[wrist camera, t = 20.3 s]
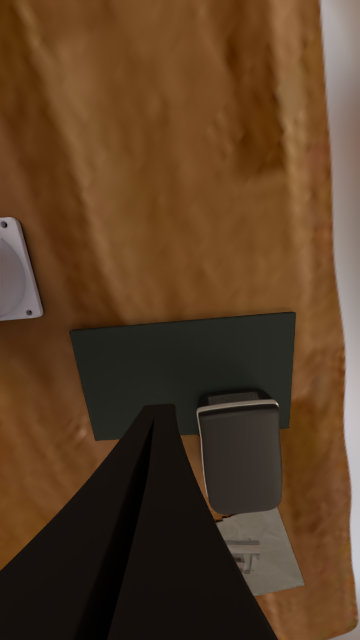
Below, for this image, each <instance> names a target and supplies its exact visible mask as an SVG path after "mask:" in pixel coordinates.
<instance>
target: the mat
mask: <svg viewBox="0 0 360 640" xmlns="http://www.w3.org/2000/svg"><path fill="white" fill-rule="evenodd" d="M295 319H296V313H295V312H283V313H271V314H259V315H247V316H235V317H223V318H211V319H198V320H186V321H174V322H162V323H150V324H138V325H126V326H114V327H102V328H90V329H78V330H71V331H69V333H70V337H71V341H72V345H73V349H74V354H75V358H76V362H77V366H78V370H79V375H80V379H81V383H82V387H83V391H84V396H85V400H86V404H87V408H88V412H89V417H90V421H91V425H92V429H93V433H94V438H95V441H100V440H115V439H121V437H122V436H123V435H124V433H125V432H126V431H127V429H128V428H129V426H130V425H131V424H132V422H133V421H134V419H135V418H136V416H137V415H138V413H139V412H140V410H141V409H142V408H143V406H144V405H156V404H172V403H173V404H174V405H175V406H176V414H177V424H178V429H179V432H180V435H191V434H200V430H199V424H198V418H197V403H198V400H199V398H200V397H201V396H202V395H204V394H207V393H211V392H218V391H226V390H235V389H245V388H258V389H261V390H263V391H265V392H266V393H268V394H269V395H270V396H271V397H272V399H273V400H275V401H276V402H277V404H278V407H279V409H280V429H283V428H289V419H290V402H291V385H292V369H293V352H294V336H295Z"/></svg>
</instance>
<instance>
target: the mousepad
mask: <svg viewBox="0 0 360 640" xmlns="http://www.w3.org/2000/svg"><path fill="white" fill-rule="evenodd" d="M230 518H231V519H230ZM230 518H222V519H223V521H221V522H218V523H216V524H217V527H218V529H219V531H220V533H221V535H222V537H223V539H224V540H225V542H226V544H227V546H228V548H229V550H230V552H231V554H232V556H233V558H234V560H235V562H236V563H237V565H238V567H239V569H240V571H241V573H242V575H243V577H244V579H245V581H246V582H247V584H248V586H249V588H250V590H251V592H252V594H253V596H257V595H262V594H266V593H271V592H275V591H280V590H285V589H289V588H294V587H298V586H303V585H305V583H304V581H303V578H302V575H301V572H300V569H299V567H298V564H297V561H296V558H295V556H294V553H293V550H292V547H291V544H290V542H289V539H288V536H287V533H286V530H285V528H284V525H283V522H282V519H281V517H280V514H279V511H278V508H277V507H276V508H274V509H272V510H269V511H263V512H253V513H242V514H238V515H234V516H230Z"/></svg>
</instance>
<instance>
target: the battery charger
mask: <svg viewBox="0 0 360 640" xmlns="http://www.w3.org/2000/svg"><path fill="white" fill-rule="evenodd" d="M197 418H198V424H199V430H200V438H201V453H202V465H203V474H204V482H205V488H206V493H207V497H208V500H209V503H210V506H211V507H212V509H213V510H214V511H215V512H217V513H220V514H242V513H253V512H263V511H269V510H272V509H274V508H276V507H277V506H278V505H279V503H280V501H281V497H282V460H281V448H280V409H279V407H278V404H277V402H276V401H275V400H273V399H272V397H271V396H270V395H269V394H268V393H266V392H265V391H263V390H261V389H258V388H245V389H235V390H226V391H218V392H211V393H207V394H204V395H202V396H201V397H200V398H199V400H198V403H197Z"/></svg>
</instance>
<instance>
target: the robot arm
mask: <svg viewBox="0 0 360 640" xmlns="http://www.w3.org/2000/svg"><path fill="white" fill-rule="evenodd" d="M6 223H7V228H6V226H5V224H6ZM30 310H31V311H32V314H31V313H30ZM42 315H43V308H42V304H41V301H40V297H39V293H38V289H37V286H36V282H35V278H34V274H33V271H32V267H31V263H30V259H29V255H28V252H27V248H26V244H25V240H24V237H23V233H22V229H21V225H20V223H19V221H18V220H17V219H15V218H12V217H5V218H0V321H2V320H14V319H26V318H37V317H40V316H42ZM0 640H278V638H277V637H276V635H275V633H274V631H273V630H272V628H271V626H270V624H269V622H268V621H267V619H266V617H265V615H264V613H263V612H262V610H261V608H260V606H259V604H258V603H257V601H256V599H255V597H254V596H253V594H252V592H251V590H250V588H249V586H248V584H247V582H246V581H245V579H244V577H243V575H242V573H241V571H240V569H239V567H238V565H237V563H236V562H235V560H234V558H233V556H232V554H231V552H230V550H229V548H228V546H227V544H226V542H225V540H224V539H223V537H222V535H221V533H220V531H219V529H218V527H217V524H216V522H215V520H214V518H213V516H212V514H211V512H210V510H209V508H208V506H207V503H206V501H205V499H204V497H203V494H202V492H201V490H200V488H199V485H198V483H197V481H196V478H195V476H194V473H193V471H192V468H191V465H190V463H189V460H188V457H187V455H186V452H185V449H184V446H183V442H182V439H181V436H180V432H179V429H178V424H177V414H176V406H175V405H174V404H173V403H172V404H156V405H144V406H143V408H142V409H141V410H140V412H139V413H138V415H137V416H136V418H135V419H134V421H133V422H132V424H131V425H130V426H129V428H128V429H127V431H126V432H125V433H124V435H123V436H122V437H121V439H120V440H119V442H118V443H117V444H116V446H115V447H114V448H113V450H112V451H111V452H110V453H109V455H108V456H107V457H106V458H105V460H104V461H103V462H102V463H101V465H100V466H99V467H98V468H97V469H96V471H95V472H94V473H93V474H92V476H91V477H90V478H89V479H88V480H87V481H86V483H85V484H84V485H83V486H82V487H81V488H80V489H79V491H78V492H77V493H76V494H75V495H74V496H73V497H72V498H71V499H70V501H69V502H68V503H67V504H66V505H65V506H64V507H63V508H62V509H61V510H60V511H59V512H58V514H57V515H56V516H55V517H54V518H53V519H52V520H51V521H50V522H49V523H48V524H47V525H46V526H45V527H44V528H43V529H42V530H41V531H40V532H39V533H38V534H37V535H36V536H35V537H34V538H33V539H32V540H31V541H30V542H29V543H28V544H27V545H26V546H25V547H24V548H23V549H22V550H21V551H20V552H19V553H18V554H17V555H16V556H15V557H14V558H13V559H12V560H11V561H10V562H9V563H8V564H7V565H6V566H5V567H4V568H3V569H2V570H1V571H0Z"/></svg>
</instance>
